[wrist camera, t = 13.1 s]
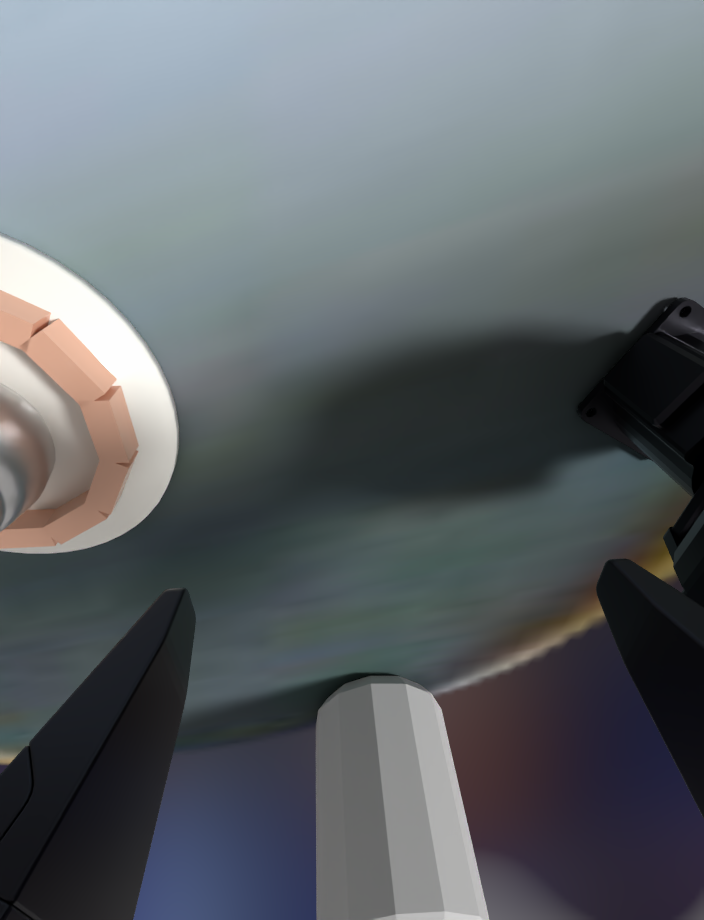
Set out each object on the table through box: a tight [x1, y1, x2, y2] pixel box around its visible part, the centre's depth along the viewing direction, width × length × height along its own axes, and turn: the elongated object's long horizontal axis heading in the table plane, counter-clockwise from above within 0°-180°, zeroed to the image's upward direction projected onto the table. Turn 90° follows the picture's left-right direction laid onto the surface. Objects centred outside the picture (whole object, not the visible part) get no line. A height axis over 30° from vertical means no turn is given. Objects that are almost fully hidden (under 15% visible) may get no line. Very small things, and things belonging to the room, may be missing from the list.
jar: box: [316, 676, 489, 920], centre depth 29 cm, size 10×10×18 cm
